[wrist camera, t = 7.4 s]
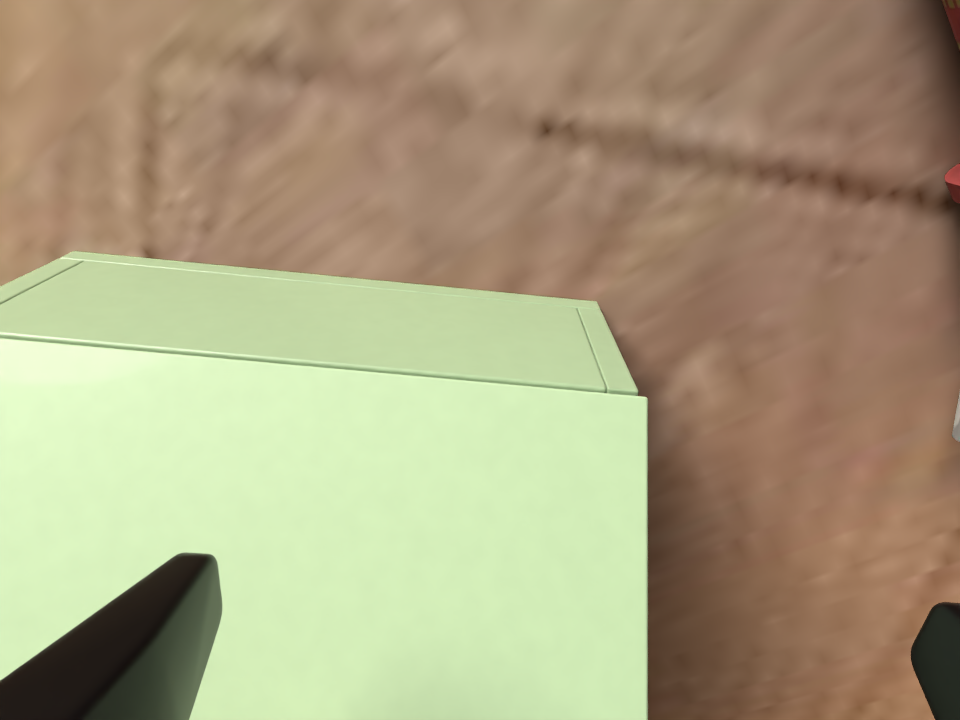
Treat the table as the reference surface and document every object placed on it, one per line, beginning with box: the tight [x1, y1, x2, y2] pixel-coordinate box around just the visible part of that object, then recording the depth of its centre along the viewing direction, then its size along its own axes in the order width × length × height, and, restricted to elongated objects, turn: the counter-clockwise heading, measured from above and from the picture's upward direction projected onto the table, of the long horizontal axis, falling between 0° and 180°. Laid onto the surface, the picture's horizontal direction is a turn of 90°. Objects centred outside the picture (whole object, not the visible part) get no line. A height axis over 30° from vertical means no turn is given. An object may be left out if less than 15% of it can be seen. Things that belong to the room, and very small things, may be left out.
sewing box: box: [0, 251, 638, 396], centre depth 19 cm, size 12×15×6 cm
